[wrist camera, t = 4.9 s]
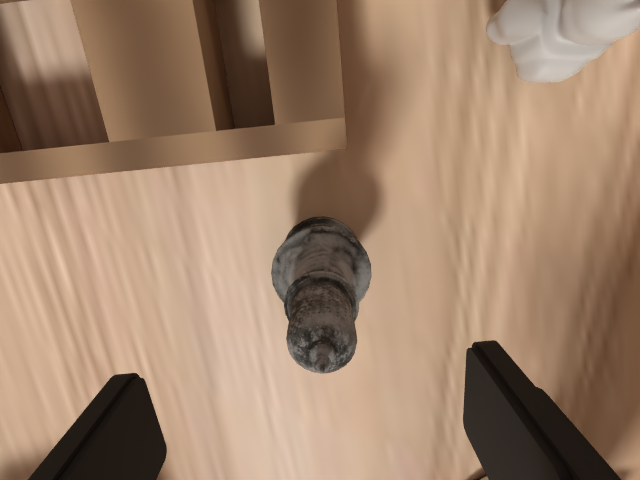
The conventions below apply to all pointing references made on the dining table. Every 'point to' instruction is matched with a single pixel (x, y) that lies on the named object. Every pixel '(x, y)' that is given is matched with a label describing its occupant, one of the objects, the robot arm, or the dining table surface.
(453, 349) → the dining table surface
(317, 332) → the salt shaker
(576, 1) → the white rounded irregular piece
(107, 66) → the frame
